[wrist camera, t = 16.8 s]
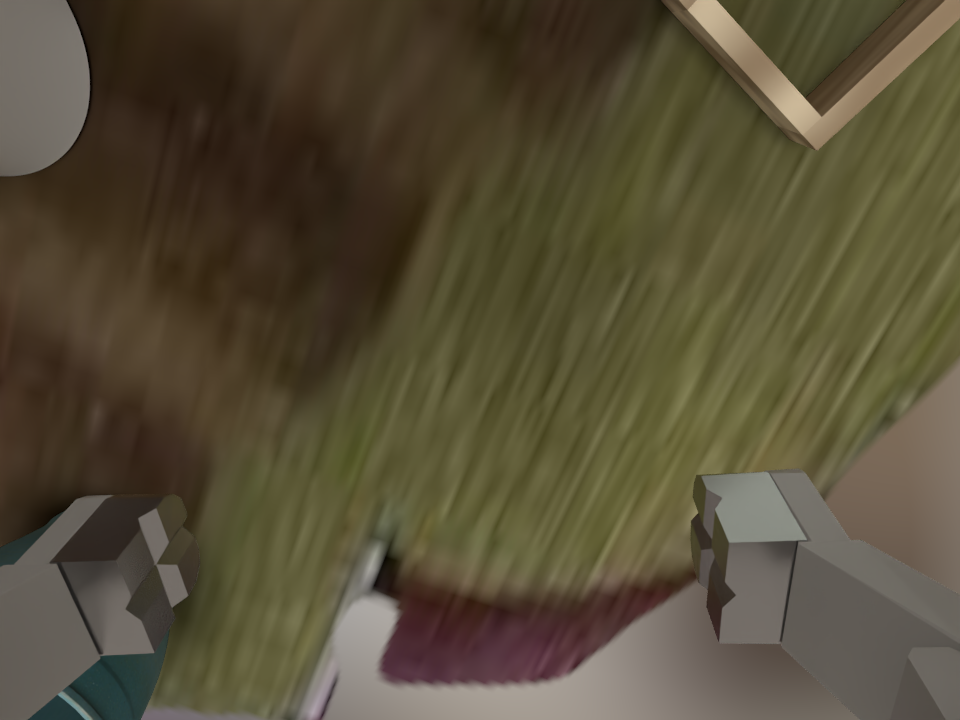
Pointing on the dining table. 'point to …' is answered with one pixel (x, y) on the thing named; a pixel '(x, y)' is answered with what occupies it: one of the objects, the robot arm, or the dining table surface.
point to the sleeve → (845, 90)
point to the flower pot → (98, 671)
